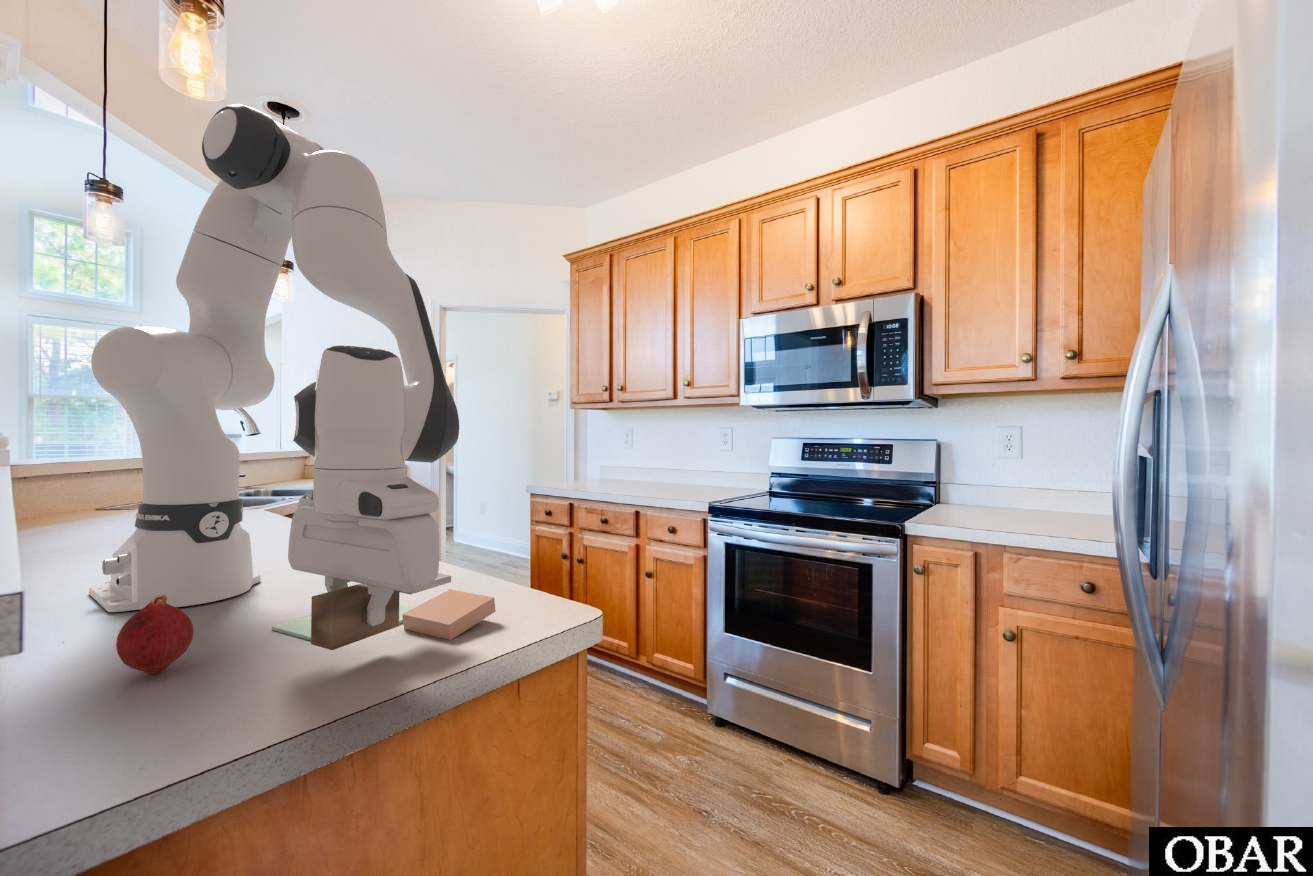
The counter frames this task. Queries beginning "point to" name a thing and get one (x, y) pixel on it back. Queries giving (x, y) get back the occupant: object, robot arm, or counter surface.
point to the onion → (154, 637)
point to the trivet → (304, 624)
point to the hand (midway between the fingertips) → (358, 619)
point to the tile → (449, 614)
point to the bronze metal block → (352, 615)
